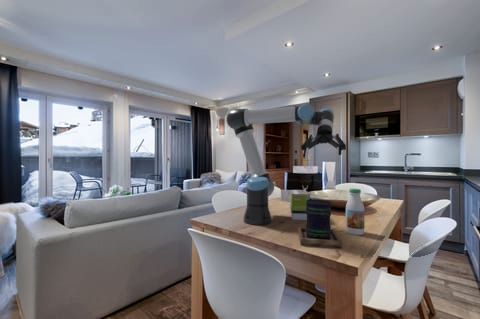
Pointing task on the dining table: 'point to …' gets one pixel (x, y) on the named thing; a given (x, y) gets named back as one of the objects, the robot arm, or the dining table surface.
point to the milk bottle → (355, 213)
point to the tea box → (298, 204)
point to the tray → (319, 240)
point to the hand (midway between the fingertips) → (321, 159)
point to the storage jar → (318, 219)
